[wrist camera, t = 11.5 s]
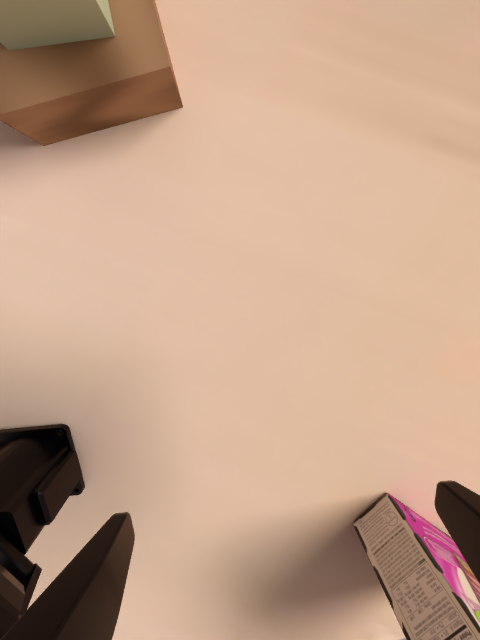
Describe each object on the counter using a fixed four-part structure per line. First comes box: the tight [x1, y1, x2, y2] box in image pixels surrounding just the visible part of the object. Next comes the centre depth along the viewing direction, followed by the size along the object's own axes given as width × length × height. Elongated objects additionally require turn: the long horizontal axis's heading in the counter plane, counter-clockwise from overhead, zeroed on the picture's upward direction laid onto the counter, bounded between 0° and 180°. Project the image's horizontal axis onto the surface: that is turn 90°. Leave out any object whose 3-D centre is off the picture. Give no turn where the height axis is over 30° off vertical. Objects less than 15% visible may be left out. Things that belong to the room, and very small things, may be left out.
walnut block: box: [0, 0, 183, 146], centre depth 14 cm, size 9×9×4 cm
